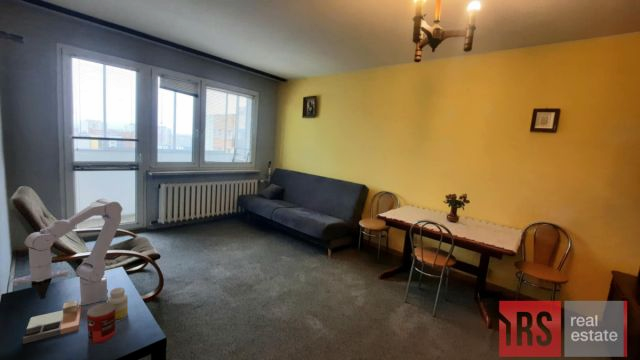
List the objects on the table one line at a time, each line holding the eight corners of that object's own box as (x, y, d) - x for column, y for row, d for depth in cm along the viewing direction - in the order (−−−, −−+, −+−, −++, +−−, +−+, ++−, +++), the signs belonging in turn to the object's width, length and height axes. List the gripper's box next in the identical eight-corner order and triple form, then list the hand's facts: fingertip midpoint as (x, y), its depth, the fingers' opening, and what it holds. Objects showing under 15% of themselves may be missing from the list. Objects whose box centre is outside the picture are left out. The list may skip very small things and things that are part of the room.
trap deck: (81, 310, 116) (81, 306, 116) (78, 329, 106) (78, 324, 106) (31, 322, 108) (31, 317, 108) (23, 343, 97) (22, 338, 97)
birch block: (77, 309, 114) (77, 300, 114) (77, 314, 111) (76, 305, 110) (64, 312, 112) (64, 303, 111) (63, 318, 108) (62, 308, 108)
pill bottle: (114, 312, 117) (113, 286, 115) (131, 312, 118) (130, 286, 116) (104, 322, 111) (103, 294, 109) (121, 322, 111) (121, 295, 110)
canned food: (92, 332, 105) (91, 304, 104) (118, 327, 108) (117, 301, 107) (84, 346, 98) (83, 316, 97) (112, 341, 101) (111, 312, 100)
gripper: (9, 272, 99) (13, 308, 101) (65, 264, 108) (67, 297, 110) (14, 264, 105) (17, 299, 107) (67, 257, 113) (69, 289, 115)
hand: (43, 297), depth 109 cm, fingers closed
